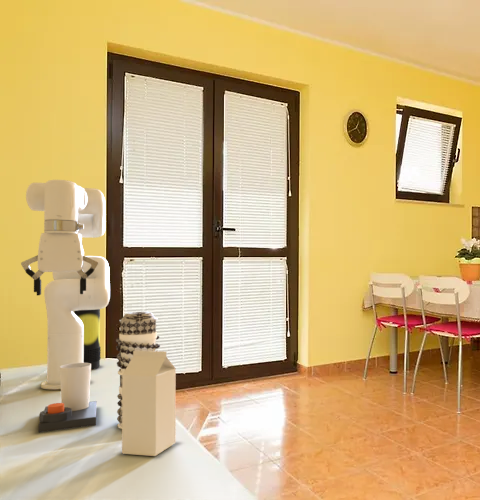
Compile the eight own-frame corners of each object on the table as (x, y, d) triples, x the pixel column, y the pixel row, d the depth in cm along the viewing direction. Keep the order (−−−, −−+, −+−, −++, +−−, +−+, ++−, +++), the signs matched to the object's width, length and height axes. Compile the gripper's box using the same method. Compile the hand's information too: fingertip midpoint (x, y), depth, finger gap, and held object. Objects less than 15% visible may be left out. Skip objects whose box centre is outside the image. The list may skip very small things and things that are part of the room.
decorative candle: (116, 420, 118) (116, 311, 119) (159, 415, 122) (159, 310, 122) (114, 432, 110) (114, 315, 110) (160, 427, 113) (160, 313, 114)
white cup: (70, 403, 126) (70, 362, 126) (96, 403, 125) (96, 362, 126) (53, 411, 119) (53, 368, 119) (81, 411, 119) (81, 368, 119)
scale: (45, 414, 123) (45, 399, 123) (96, 408, 128) (96, 394, 128) (38, 433, 110) (38, 416, 110) (95, 425, 114) (96, 409, 115)
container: (60, 368, 177) (60, 281, 177) (92, 364, 185) (92, 280, 186) (73, 373, 170) (73, 282, 170) (106, 367, 178) (106, 281, 179)
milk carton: (155, 457, 96) (155, 354, 96) (121, 454, 97) (122, 353, 98) (175, 443, 103) (175, 348, 103) (143, 441, 104) (144, 347, 104)
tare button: (48, 411, 115) (48, 403, 115) (64, 409, 116) (64, 402, 116) (46, 415, 112) (47, 407, 112) (63, 413, 113) (63, 405, 113)
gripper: (98, 229, 140) (98, 292, 139) (23, 228, 132) (23, 294, 132) (98, 228, 133) (97, 294, 133) (19, 226, 125) (18, 296, 125)
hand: (60, 294), depth 132 cm, fingers open, 9 cm apart
